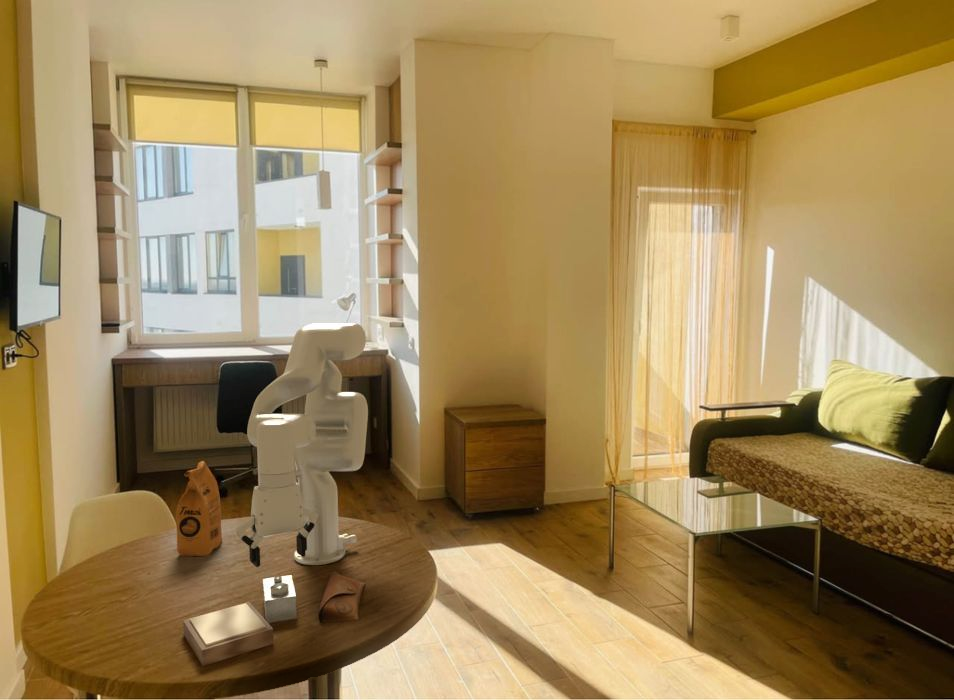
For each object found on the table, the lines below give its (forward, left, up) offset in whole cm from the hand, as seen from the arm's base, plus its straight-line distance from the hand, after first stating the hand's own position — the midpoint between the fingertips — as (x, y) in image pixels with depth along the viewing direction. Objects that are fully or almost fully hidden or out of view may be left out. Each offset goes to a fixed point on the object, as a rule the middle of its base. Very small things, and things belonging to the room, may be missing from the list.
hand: (279, 559), depth 144 cm
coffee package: (+5, -47, -11) cm, 48 cm away
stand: (+13, +5, -11) cm, 18 cm away
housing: (0, -1, -11) cm, 11 cm away
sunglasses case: (-12, +4, -12) cm, 18 cm away
